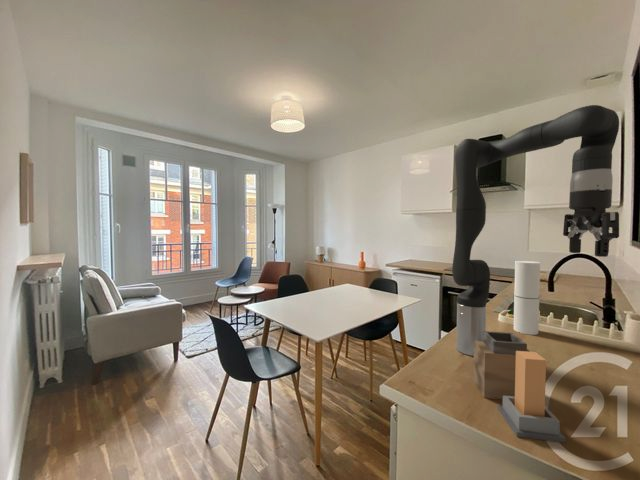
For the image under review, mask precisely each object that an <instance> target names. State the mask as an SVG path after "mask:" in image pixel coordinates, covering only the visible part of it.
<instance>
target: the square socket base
mask: <svg viewBox="0 0 640 480" xmlns="http://www.w3.org/2000/svg"><path fill="white" fill-rule="evenodd" d="M516 351H527V352H531V351H530V350H529V349H528V344H527V343H526V342H525V341H524V340H522V339H521V338H520V337H518V336H517V335H515V334H514V333H513V332H502V331H490V330H489V331H487V330H486V331H483V340H482V341H474V356H473V370H472V371H473V372H472V373H473V374H472V377H473V378H472V381H473V383H474V384H475V386H476V387H477V389H478V390H479V392H480V394H481V395H482V397H483V398H486V399H494V400H495V399H497V400H503V396H513V397H515V367H516Z"/></svg>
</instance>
